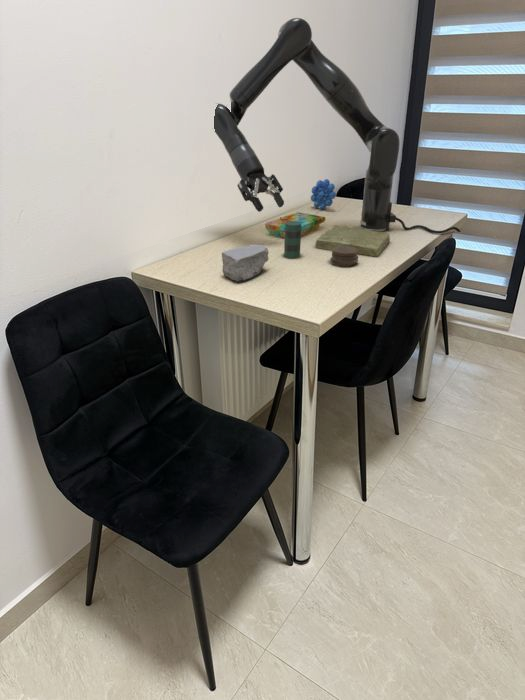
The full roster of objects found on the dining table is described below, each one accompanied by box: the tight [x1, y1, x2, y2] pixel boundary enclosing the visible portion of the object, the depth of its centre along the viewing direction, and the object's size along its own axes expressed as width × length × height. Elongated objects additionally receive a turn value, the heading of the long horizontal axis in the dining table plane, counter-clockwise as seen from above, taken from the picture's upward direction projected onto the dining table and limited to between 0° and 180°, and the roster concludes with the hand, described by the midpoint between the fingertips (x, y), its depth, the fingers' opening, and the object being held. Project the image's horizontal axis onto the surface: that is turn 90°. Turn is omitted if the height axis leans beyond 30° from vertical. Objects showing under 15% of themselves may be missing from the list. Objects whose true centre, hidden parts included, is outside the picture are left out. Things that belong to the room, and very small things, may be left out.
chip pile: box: [329, 246, 359, 268], centre depth 150 cm, size 8×8×4 cm
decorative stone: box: [221, 244, 269, 283], centre depth 141 cm, size 15×7×10 cm
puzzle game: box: [264, 211, 327, 239], centre depth 179 cm, size 12×5×20 cm
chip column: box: [283, 221, 302, 259], centre depth 154 cm, size 5×5×10 cm
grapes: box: [310, 178, 337, 211], centre depth 205 cm, size 12×7×12 cm, turn 49°
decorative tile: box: [315, 225, 391, 257], centre depth 166 cm, size 19×20×4 cm
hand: (271, 207), depth 157 cm, fingers open, 8 cm apart
